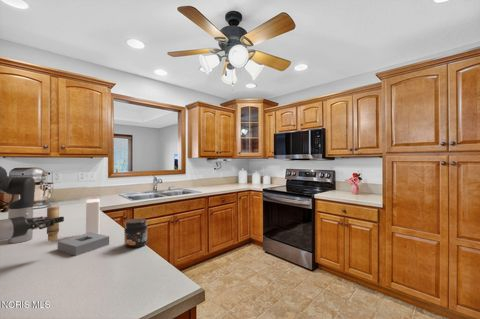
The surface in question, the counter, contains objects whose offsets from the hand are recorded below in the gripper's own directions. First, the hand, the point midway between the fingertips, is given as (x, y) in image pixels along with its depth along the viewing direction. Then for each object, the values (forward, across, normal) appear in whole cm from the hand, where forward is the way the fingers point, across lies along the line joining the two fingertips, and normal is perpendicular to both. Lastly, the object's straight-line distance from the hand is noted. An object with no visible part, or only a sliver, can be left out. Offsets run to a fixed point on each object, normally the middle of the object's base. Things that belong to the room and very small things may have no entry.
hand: (60, 218), depth 99 cm
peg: (-3, 0, +8) cm, 9 cm away
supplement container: (+23, -20, +16) cm, 35 cm away
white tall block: (+23, +15, +17) cm, 32 cm away
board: (+10, 0, +16) cm, 19 cm away
